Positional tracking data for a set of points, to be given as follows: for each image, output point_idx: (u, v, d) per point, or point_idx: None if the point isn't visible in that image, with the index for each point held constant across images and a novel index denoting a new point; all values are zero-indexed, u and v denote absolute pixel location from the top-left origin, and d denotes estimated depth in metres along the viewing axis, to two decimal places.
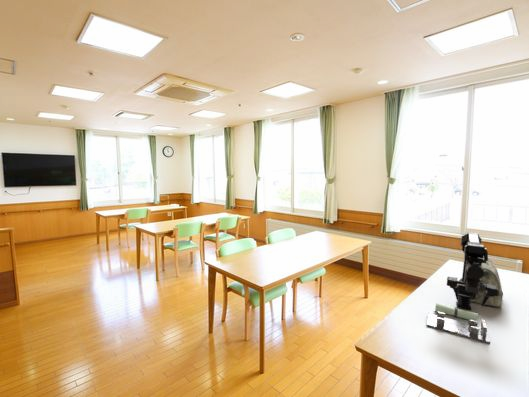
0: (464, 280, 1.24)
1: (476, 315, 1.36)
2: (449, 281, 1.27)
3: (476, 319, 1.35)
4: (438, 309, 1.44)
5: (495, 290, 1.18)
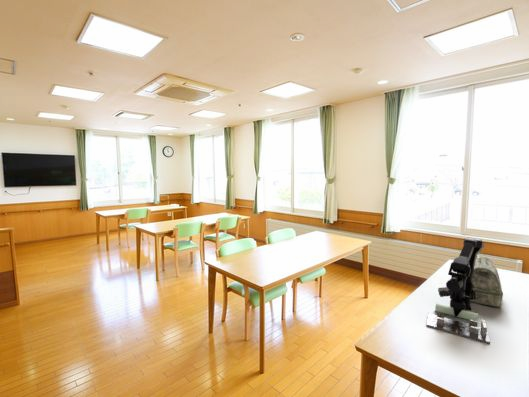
0: None
1: (476, 315, 1.36)
2: None
3: (476, 319, 1.35)
4: (438, 309, 1.44)
5: (451, 301, 1.35)
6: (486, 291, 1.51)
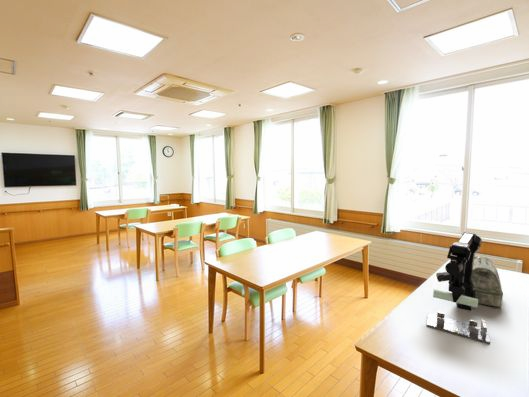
0: None
1: (476, 300, 1.29)
2: None
3: (476, 305, 1.29)
4: (436, 295, 1.38)
5: (450, 285, 1.29)
6: (486, 291, 1.51)
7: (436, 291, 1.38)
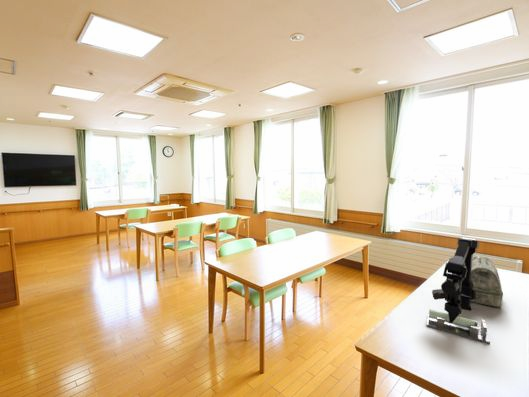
0: None
1: (472, 322, 1.26)
2: None
3: None
4: (432, 315, 1.35)
5: (446, 305, 1.25)
6: (486, 291, 1.51)
7: (432, 311, 1.35)
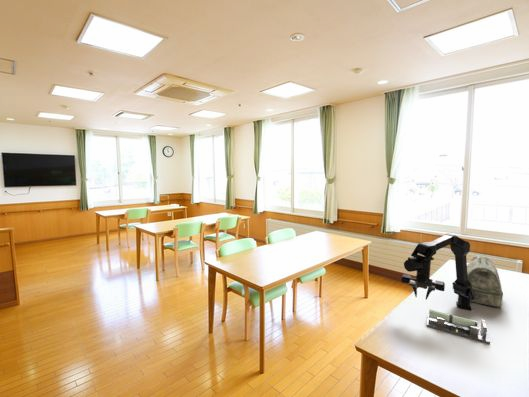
0: None
1: (472, 322, 1.26)
2: (403, 278, 1.39)
3: None
4: (432, 315, 1.35)
5: (441, 286, 1.30)
6: (486, 291, 1.51)
7: (432, 311, 1.35)
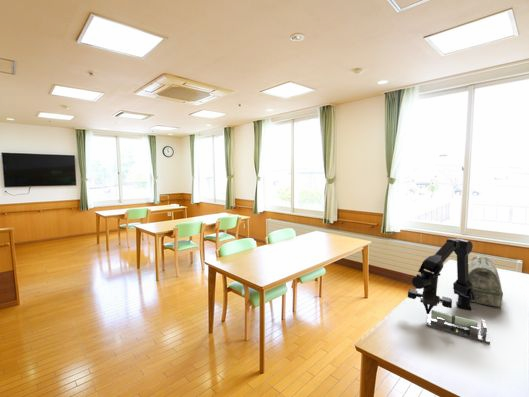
0: None
1: (475, 323, 1.26)
2: (409, 293, 1.38)
3: None
4: (434, 316, 1.34)
5: (449, 302, 1.29)
6: (486, 291, 1.51)
7: (434, 312, 1.35)
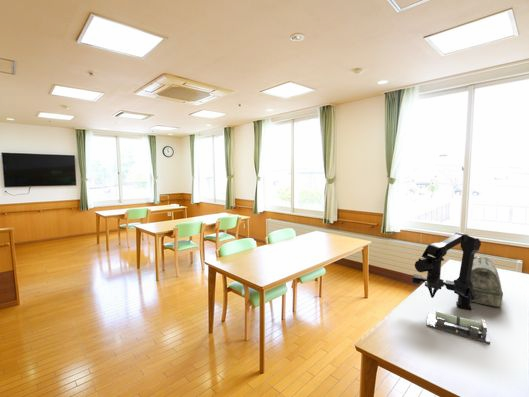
0: None
1: (480, 325, 1.24)
2: (414, 278, 1.43)
3: (480, 329, 1.24)
4: None
5: (452, 285, 1.34)
6: (486, 291, 1.51)
7: (438, 314, 1.33)
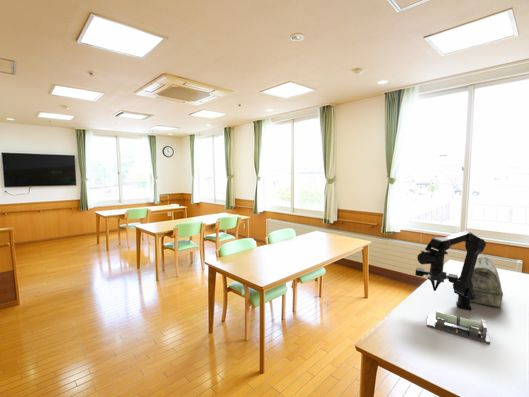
0: None
1: (480, 326, 1.24)
2: (417, 271, 1.45)
3: (480, 330, 1.24)
4: None
5: (455, 278, 1.36)
6: (486, 291, 1.51)
7: (438, 314, 1.33)
